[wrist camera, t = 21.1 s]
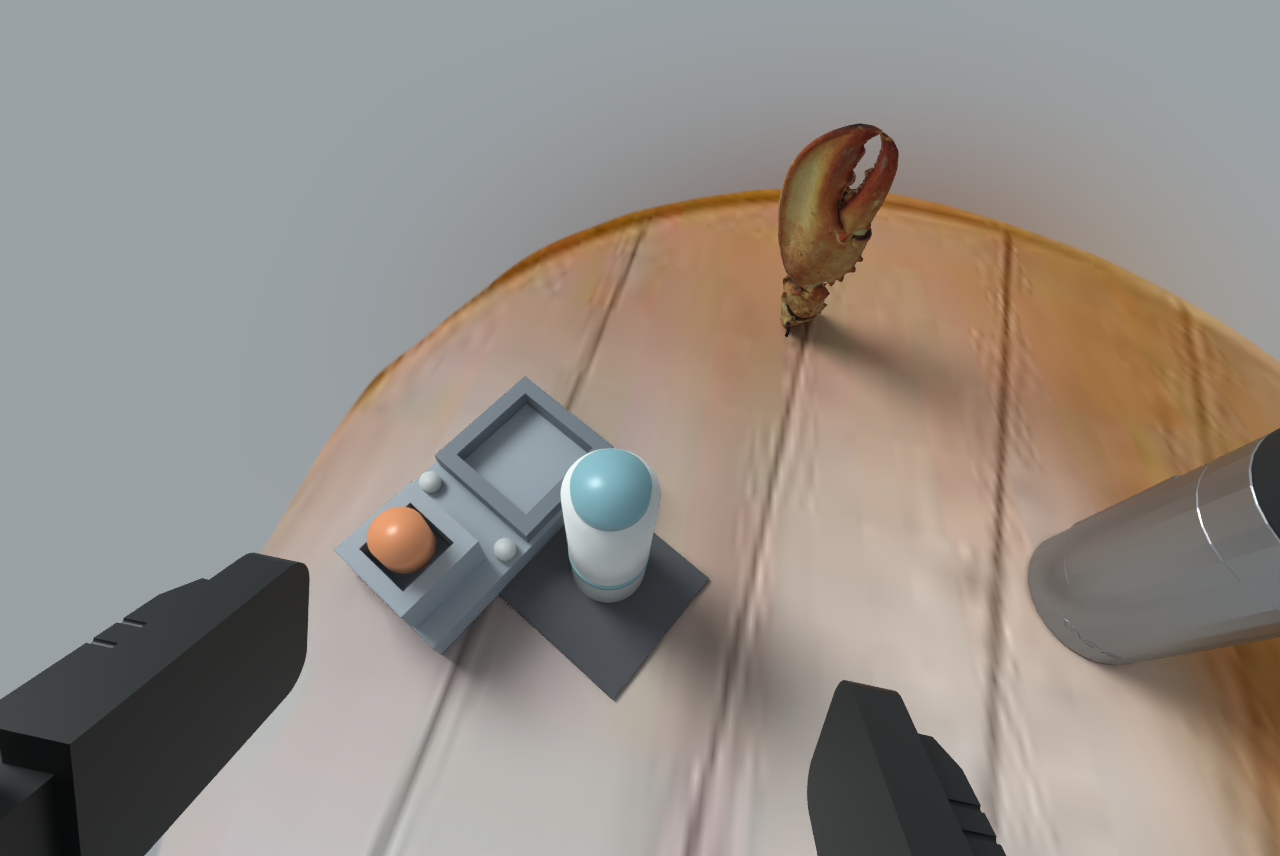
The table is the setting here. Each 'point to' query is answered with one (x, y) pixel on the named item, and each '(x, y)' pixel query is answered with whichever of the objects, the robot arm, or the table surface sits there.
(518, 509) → the housing
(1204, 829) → the table surface
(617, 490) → the cartridge
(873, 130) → the crab claw
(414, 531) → the plunger
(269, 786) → the table surface
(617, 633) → the pad
